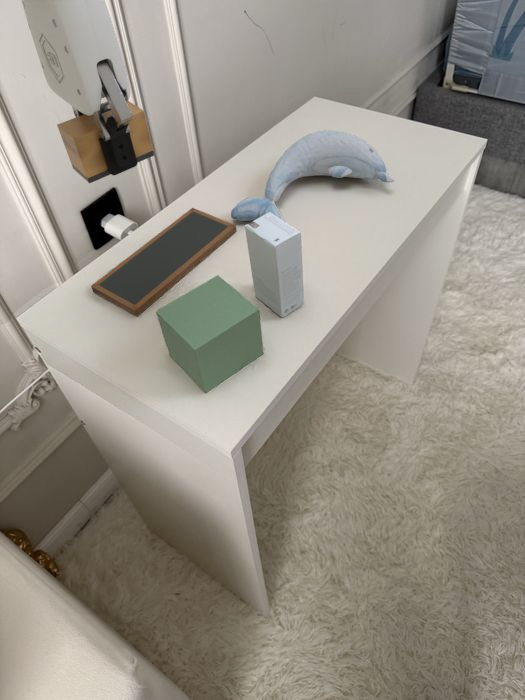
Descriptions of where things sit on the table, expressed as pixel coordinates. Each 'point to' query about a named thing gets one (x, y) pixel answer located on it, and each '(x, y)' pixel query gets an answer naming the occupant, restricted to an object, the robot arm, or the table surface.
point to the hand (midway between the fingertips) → (113, 159)
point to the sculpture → (315, 168)
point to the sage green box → (211, 332)
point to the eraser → (86, 147)
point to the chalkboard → (163, 261)
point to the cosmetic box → (276, 263)
